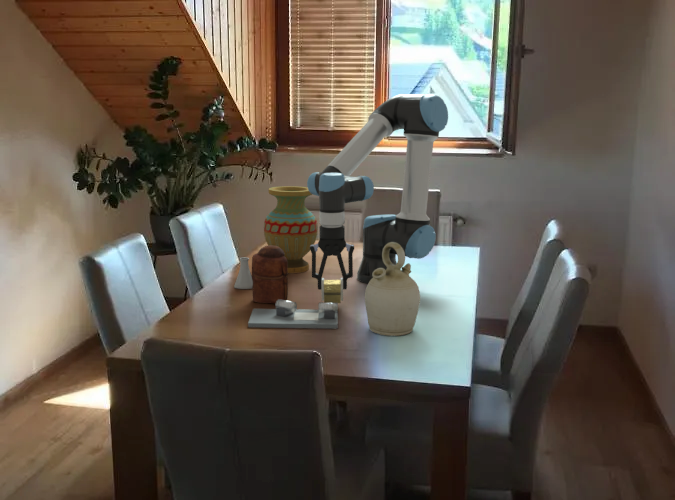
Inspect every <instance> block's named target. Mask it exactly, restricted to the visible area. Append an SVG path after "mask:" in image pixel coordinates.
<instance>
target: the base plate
mask: <svg viewBox="0 0 675 500" xmlns="http://www.w3.org/2000/svg"><path fill="white" fill-rule="evenodd" d="M338 321H339V320H338V313H335V319H324V313H318V309H304V308H303V309H302V308H298V309H296V311H295V312H293V314H291V315H289V316H287V317H281V316H276V308H252V311H251V314H250V317H249V319H248V322H247V327H248V328H272V329H273V328H274V329H275V328H278V329H279V328H281V329H283V328H285V329H287V328H288V329H332V330H333V329H338V327H339V325H338V324H339V322H338Z"/></svg>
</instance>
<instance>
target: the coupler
mask: <svg viewBox="0 0 675 500" xmlns="http://www.w3.org/2000/svg"><path fill="white" fill-rule="evenodd" d="M341 302H342V301H341V279H324V301H323V303H338V304H341Z"/></svg>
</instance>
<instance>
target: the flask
mask: <svg viewBox="0 0 675 500" xmlns="http://www.w3.org/2000/svg"><path fill="white" fill-rule="evenodd" d="M249 260H250V257H246V256H245V257H244V256H243V257H242V256H241V257H239V261H240V266H239V267H240V268H239V271H238V274H237V276H236V280H235V283H234V287H233V288H234V289H237V290H238V289H239V290H249V289H250V290H251V289H252V286H253V280H252V272H251V270H250V267H249Z"/></svg>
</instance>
